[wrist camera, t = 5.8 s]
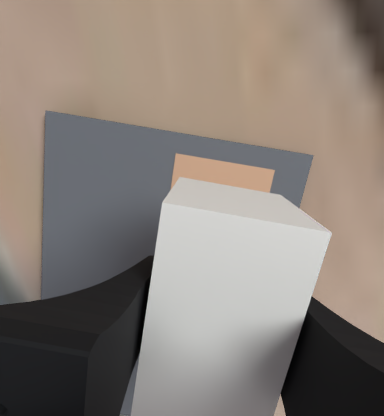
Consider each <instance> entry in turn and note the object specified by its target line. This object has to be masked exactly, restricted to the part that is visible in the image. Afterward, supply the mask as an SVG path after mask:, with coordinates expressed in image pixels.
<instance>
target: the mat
mask: <svg viewBox="0 0 384 416" xmlns="http://www.w3.org/2000/svg"><path fill="white" fill-rule="evenodd" d="M312 159H313V155H308V154H302V153H296V152H290V151H284V150H278V149H272V148H266V147H260V146H254V145H248V144H242V143H236V142H230V141H224V140H219V139H213V138H207V137H201V136H195V135H189V134H183V133H177V132H171V131H165V130H159V129H153V128H147V127H141V126H135V125H129V124H123V123H117V122H111V121H105V120H99V119H93V118H87V117H81V116H76V115H70V114H64V113H58V112H52V111H46V113H45V155H44V198H43V241H42V284H41V300H43V299H48V298H53V297H57V296H62V295H65V294H69V293H72V292H76V291H79V290H82V289H86V288H89V287H91V286H94V285H97V284H99V283H102V282H104V281H106V280H108V279H110V278H112V277H114V276H116V275H118V274H120V273H122V272H124V271H126V270H127V269H129V268H131V267H132V266H134V265H135V264H137V263H138V262H140V261H142V260H143V259H145V258H146V257H148V256H149V255H152V256H154V255H155V248H156V241H157V234H158V228H159V221H160V214H161V207H162V202H163V201H164V199H165V198H166V196H167V195H168V193H169V192H170V190H171V189H172V188H173V186H174V185H175V183H176V182H177V180H178V179H179V177H184V178H189V179H195V180H200V181H206V182H212V183H217V184H223V185H229V186H234V187H240V188H245V189H251V190H257V191H262V192H268V193H273V194H279V195H282V196H283V197H284V198H286V199H287V200H288V201H290V202H291V203H292V204H294V205H295V206H296V207H298V208H299V207H300V203H301V199H302V196H303V192H304V188H305V185H306V181H307V177H308V174H309V170H310V166H311V163H312ZM139 356H140V354H139ZM139 356H138V359H137V361H136V364H135V366H134V369H133V372H132V375H131V378H130V381H129V384H128V387H127V391H126V394H125V398H124V401H123V405H122V408H121V412H120V414H123V415H128V416H131V410H132V403H133V397H134V390H135V383H136V376H137V370H138V363H139Z"/></svg>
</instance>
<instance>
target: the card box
mask: <svg viewBox="0 0 384 416" xmlns="http://www.w3.org/2000/svg"><path fill="white" fill-rule="evenodd" d="M331 234H332V232H330V231H329V230H328V229H326V228H325V227H324V226H322V225H321V224H320V223H318V222H317V221H315V220H314V219H313V218H311V217H310V216H309V215H307V214H306V213H305V212H303V211H302V210H301V209H299V208H298V207H296V206H295V205H294V204H292V203H291V202H290V201H288V200H287V199H286V198H284V197H283V196H282V195H279V194H273V193H268V192H262V191H257V190H251V189H245V188H240V187H234V186H229V185H223V184H217V183H212V182H206V181H200V180H195V179H189V178H184V177H179V179H178V180H177V182H176V183H175V185H174V186H173V188H172V189H171V190H170V192H169V193H168V195H167V196H166V198H165V199H164V201H163V202H162V207H161V214H160V221H159V228H158V234H157V241H156V248H155V255H154V261H153V268H152V275H151V282H150V288H149V295H148V302H147V309H146V315H145V322H144V329H143V336H142V343H141V349H140V356H139V363H138V370H137V376H136V383H135V390H134V397H133V403H132V410H131V416H273V415H274V412H275V409H276V406H277V403H278V400H279V396H280V393H281V390H282V387H283V384H284V381H285V378H286V375H287V371H288V368H289V365H290V362H291V359H292V356H293V353H294V350H295V346H296V343H297V340H298V337H299V334H300V331H301V328H302V325H303V322H304V318H305V315H306V312H307V309H308V306H309V303H310V300H311V297H312V293H313V290H314V287H315V284H316V281H317V278H318V275H319V272H320V268H321V265H322V262H323V259H324V256H325V253H326V250H327V247H328V243H329V240H330V237H331Z"/></svg>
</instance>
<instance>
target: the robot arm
mask: <svg viewBox="0 0 384 416" xmlns="http://www.w3.org/2000/svg"><path fill="white" fill-rule="evenodd" d="M153 261H154V256H152V255H149V256H148V257H146V258H145V259H143V260H142V261H140V262H138V263H137V264H135V265H134V266H132V267H131V268H129V269H127V270H126V271H124V272H122V273H120V274H118V275H116V276H114V277H112V278H110V279H108V280H106V281H104V282H102V283H99V284H97V285H94V286H91V287H89V288H86V289H82V290H79V291H76V292H72V293H69V294H65V295H62V296H57V297H53V298H48V299H43V300H37V301H31V302H24V303H15V304H6V305H0V416H119V415H120V412H121V408H122V405H123V401H124V398H125V394H126V391H127V387H128V384H129V381H130V378H131V375H132V372H133V369H134V366H135V364H136V361H137V359H138V356H139V354H140V349H141V343H142V336H143V329H144V322H145V315H146V309H147V302H148V295H149V288H150V282H151V275H152V268H153ZM281 397H282V401H283V405H284V409H285V413H286V416H384V343H383V342H381V341H379V340H377V339H375V338H374V337H372V336H370V335H368V334H367V333H365V332H363V331H362V330H360V329H358V328H357V327H355V326H353V325H352V324H350V323H349V322H347V321H346V320H344V319H343V318H341V317H340V316H338V315H337V314H335V313H334V312H332V311H331V310H330V309H328V308H327V307H325V306H324V305H323V304H321V303H320V302H319V301H317V300H316V299H315V298H313V297H311V300H310V303H309V306H308V309H307V312H306V315H305V318H304V322H303V325H302V328H301V331H300V334H299V337H298V340H297V343H296V346H295V350H294V353H293V356H292V359H291V362H290V365H289V368H288V371H287V375H286V378H285V381H284V384H283V387H282V390H281Z"/></svg>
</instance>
